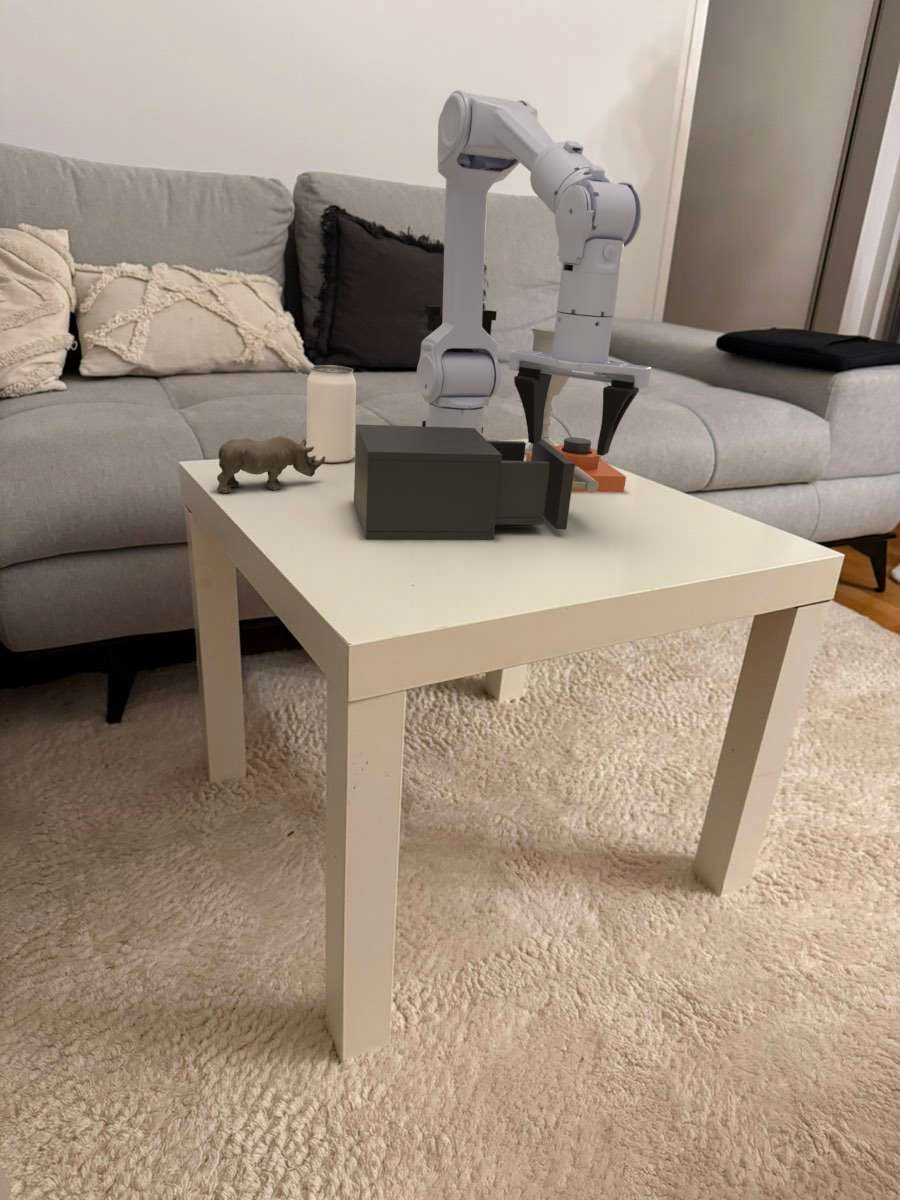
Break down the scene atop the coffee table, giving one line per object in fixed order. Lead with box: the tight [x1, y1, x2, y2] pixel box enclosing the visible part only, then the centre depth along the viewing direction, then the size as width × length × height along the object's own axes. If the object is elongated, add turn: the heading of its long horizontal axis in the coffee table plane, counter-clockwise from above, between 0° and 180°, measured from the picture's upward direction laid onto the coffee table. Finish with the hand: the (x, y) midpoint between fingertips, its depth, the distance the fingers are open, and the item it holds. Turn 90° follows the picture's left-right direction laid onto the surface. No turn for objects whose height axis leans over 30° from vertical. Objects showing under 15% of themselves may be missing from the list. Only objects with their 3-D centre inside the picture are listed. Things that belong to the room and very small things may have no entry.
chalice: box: [525, 326, 573, 454], centre depth 124 cm, size 7×7×18 cm
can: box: [306, 364, 357, 464], centre depth 114 cm, size 6×6×12 cm
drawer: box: [486, 439, 599, 531], centre depth 95 cm, size 17×11×7 cm
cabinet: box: [353, 423, 502, 540], centre depth 92 cm, size 14×13×9 cm
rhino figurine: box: [216, 436, 325, 494], centre depth 101 cm, size 4×14×6 cm, turn 121°
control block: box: [525, 444, 627, 493], centre depth 115 cm, size 12×10×4 cm
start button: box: [562, 436, 592, 455], centre depth 114 cm, size 4×4×2 cm
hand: (568, 447), depth 91 cm, fingers open, 7 cm apart
